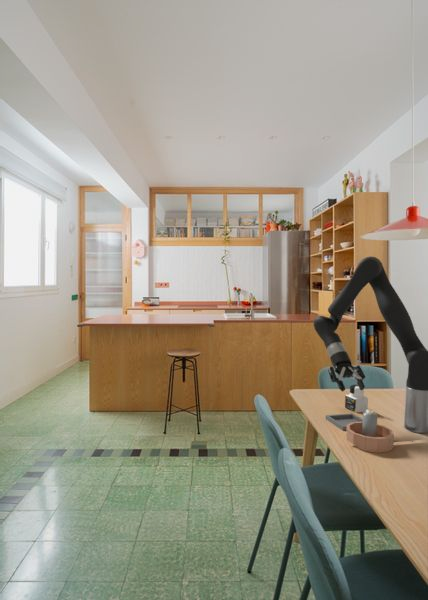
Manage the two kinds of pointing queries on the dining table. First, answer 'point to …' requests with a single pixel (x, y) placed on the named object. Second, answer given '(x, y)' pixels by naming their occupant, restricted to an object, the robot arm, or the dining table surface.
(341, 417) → the parts tray
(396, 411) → the dining table surface
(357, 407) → the medicine bottle
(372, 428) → the pebble cup
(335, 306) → the robot arm
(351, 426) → the bowl
